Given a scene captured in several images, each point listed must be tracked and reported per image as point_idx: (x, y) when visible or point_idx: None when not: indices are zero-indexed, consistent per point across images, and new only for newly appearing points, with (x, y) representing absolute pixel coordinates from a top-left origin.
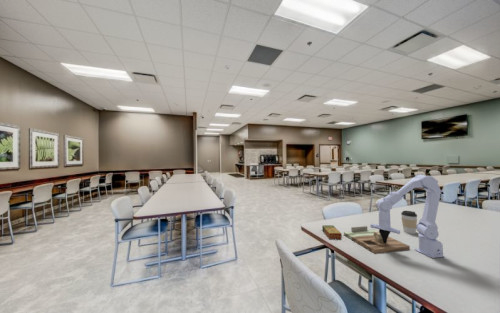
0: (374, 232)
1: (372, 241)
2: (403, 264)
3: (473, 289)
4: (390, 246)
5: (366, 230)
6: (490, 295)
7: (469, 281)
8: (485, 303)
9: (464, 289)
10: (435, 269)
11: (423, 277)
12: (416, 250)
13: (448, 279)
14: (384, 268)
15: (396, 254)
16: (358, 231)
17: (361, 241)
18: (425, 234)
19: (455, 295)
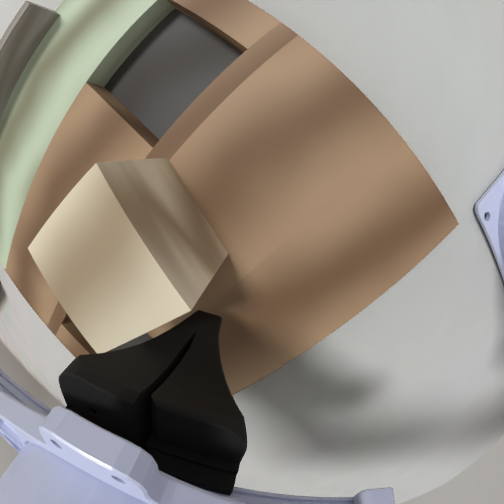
0: (46, 267)
1: None
2: (314, 456)
3: (464, 456)
4: (263, 348)
5: (50, 22)
6: (480, 453)
7: (492, 426)
8: (440, 483)
9: (440, 469)
10: (443, 425)
11: (357, 483)
12: (481, 223)
13: (436, 456)
14: (234, 485)
15: (303, 383)
16: (6, 103)
17: (62, 334)
18: None
19: (395, 495)
